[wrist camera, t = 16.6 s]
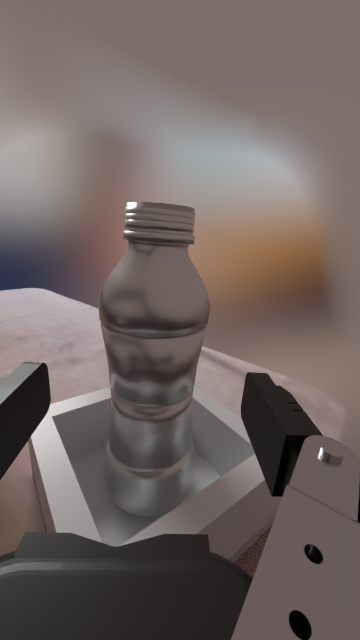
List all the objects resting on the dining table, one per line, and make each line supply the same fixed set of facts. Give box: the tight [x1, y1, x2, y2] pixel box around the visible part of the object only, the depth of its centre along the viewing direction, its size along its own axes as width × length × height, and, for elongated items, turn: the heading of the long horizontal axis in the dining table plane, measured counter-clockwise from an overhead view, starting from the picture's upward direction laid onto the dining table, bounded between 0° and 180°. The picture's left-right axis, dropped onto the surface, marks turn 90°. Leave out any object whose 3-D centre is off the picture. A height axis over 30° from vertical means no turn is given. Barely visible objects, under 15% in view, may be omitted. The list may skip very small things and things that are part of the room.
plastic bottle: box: [98, 202, 210, 517], centre depth 17 cm, size 6×7×20 cm
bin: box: [28, 384, 282, 563], centre depth 20 cm, size 14×14×6 cm
